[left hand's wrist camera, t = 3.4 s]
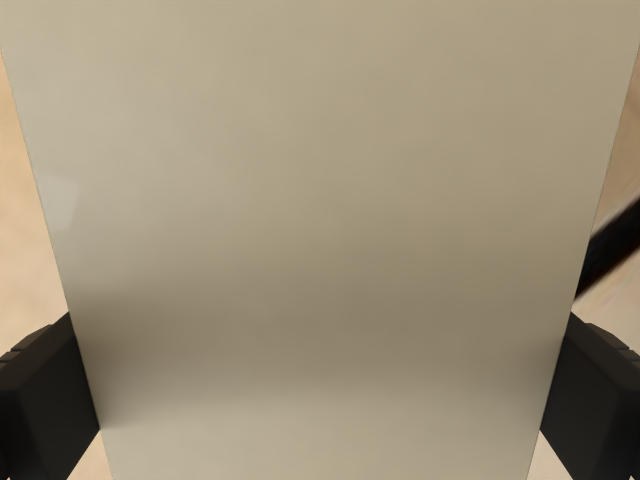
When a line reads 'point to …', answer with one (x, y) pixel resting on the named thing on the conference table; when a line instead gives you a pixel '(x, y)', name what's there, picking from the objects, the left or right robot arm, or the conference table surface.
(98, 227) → the cabinet
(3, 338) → the conference table surface
